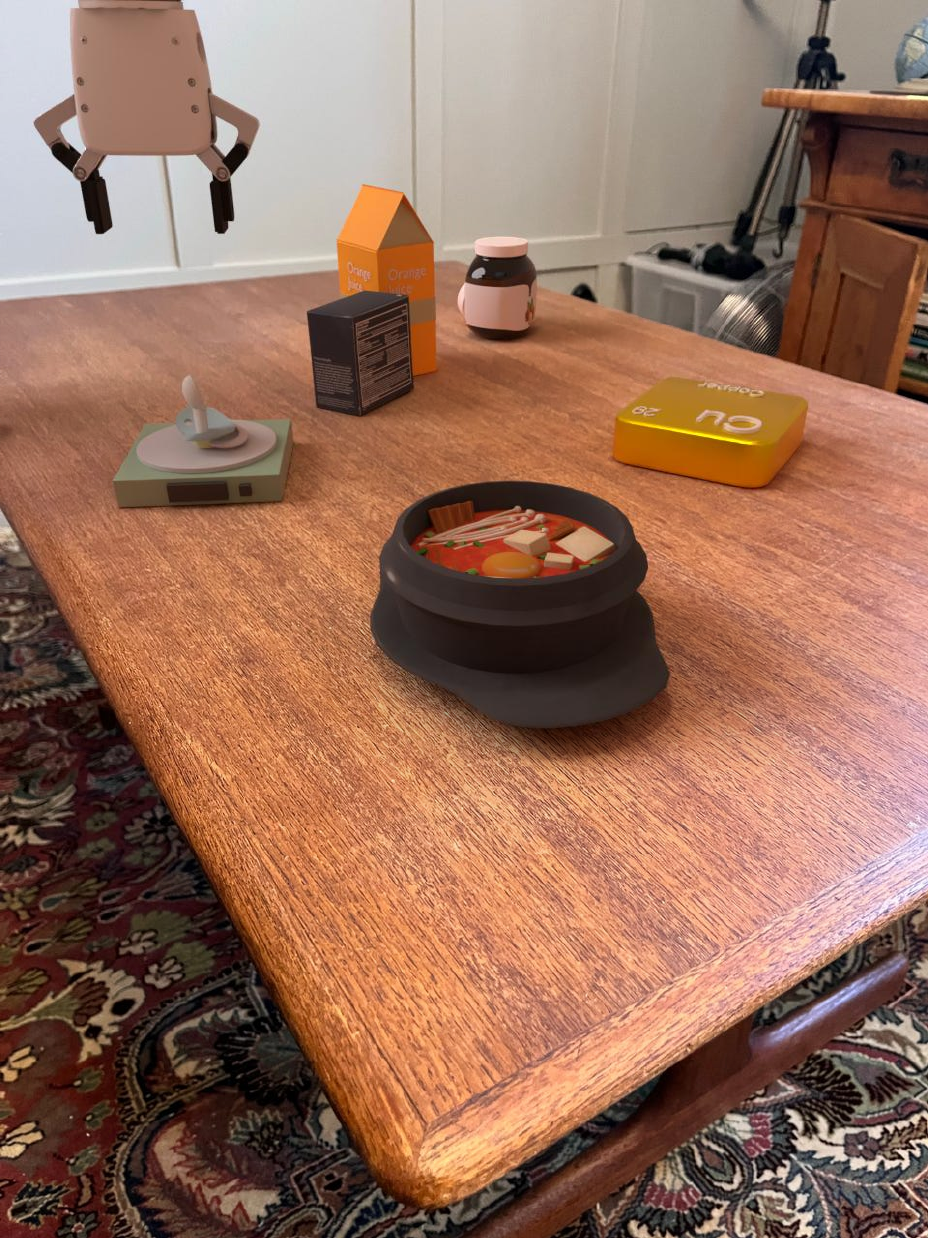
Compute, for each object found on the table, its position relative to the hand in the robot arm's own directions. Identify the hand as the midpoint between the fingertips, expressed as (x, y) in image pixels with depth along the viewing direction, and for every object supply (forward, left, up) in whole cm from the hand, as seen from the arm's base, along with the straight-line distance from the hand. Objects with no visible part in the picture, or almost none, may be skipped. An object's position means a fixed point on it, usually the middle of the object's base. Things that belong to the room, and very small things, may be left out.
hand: (163, 230), depth 81 cm
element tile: (+48, -1, -21) cm, 53 cm away
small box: (+15, +18, -21) cm, 31 cm away
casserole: (+25, -33, -21) cm, 47 cm away
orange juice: (+18, +29, -21) cm, 40 cm away
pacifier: (+2, -2, -18) cm, 18 cm away
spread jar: (+32, +45, -21) cm, 59 cm away
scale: (+1, -2, -21) cm, 21 cm away
